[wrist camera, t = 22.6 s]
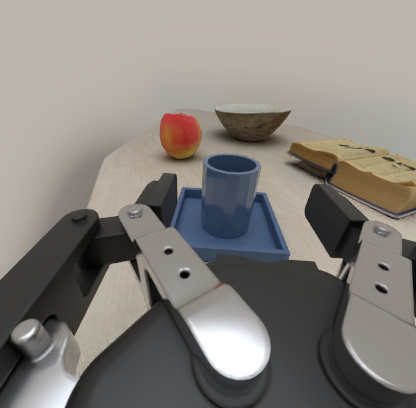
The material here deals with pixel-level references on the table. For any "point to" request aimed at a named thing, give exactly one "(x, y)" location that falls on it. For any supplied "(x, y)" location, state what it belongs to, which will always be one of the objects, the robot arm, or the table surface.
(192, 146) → the apple
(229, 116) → the bowl
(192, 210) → the blue tray
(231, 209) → the blue cup
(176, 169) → the table surface
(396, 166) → the book
